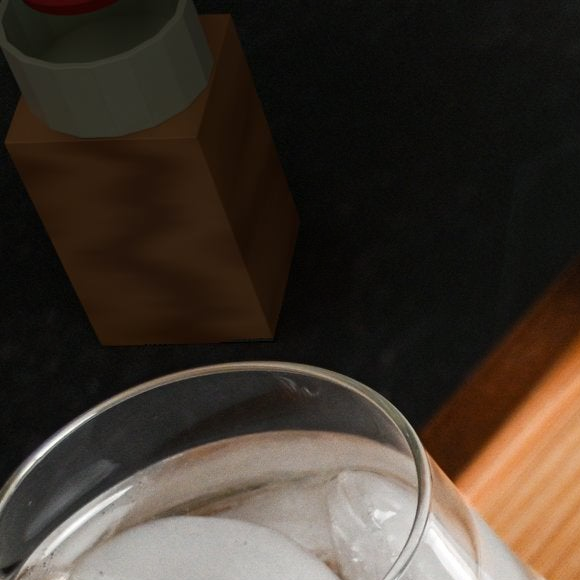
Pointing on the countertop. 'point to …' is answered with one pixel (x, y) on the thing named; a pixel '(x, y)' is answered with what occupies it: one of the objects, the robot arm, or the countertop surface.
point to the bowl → (107, 64)
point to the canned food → (68, 6)
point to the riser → (170, 213)
